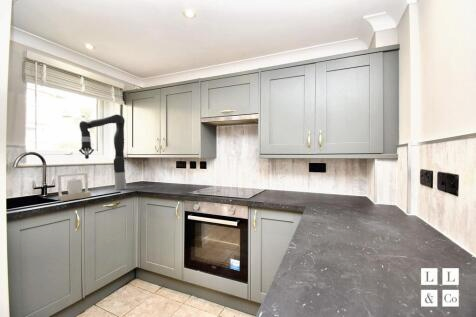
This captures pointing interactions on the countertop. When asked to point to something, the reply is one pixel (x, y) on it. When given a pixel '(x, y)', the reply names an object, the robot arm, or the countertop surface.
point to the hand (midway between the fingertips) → (87, 158)
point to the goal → (73, 196)
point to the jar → (74, 186)
